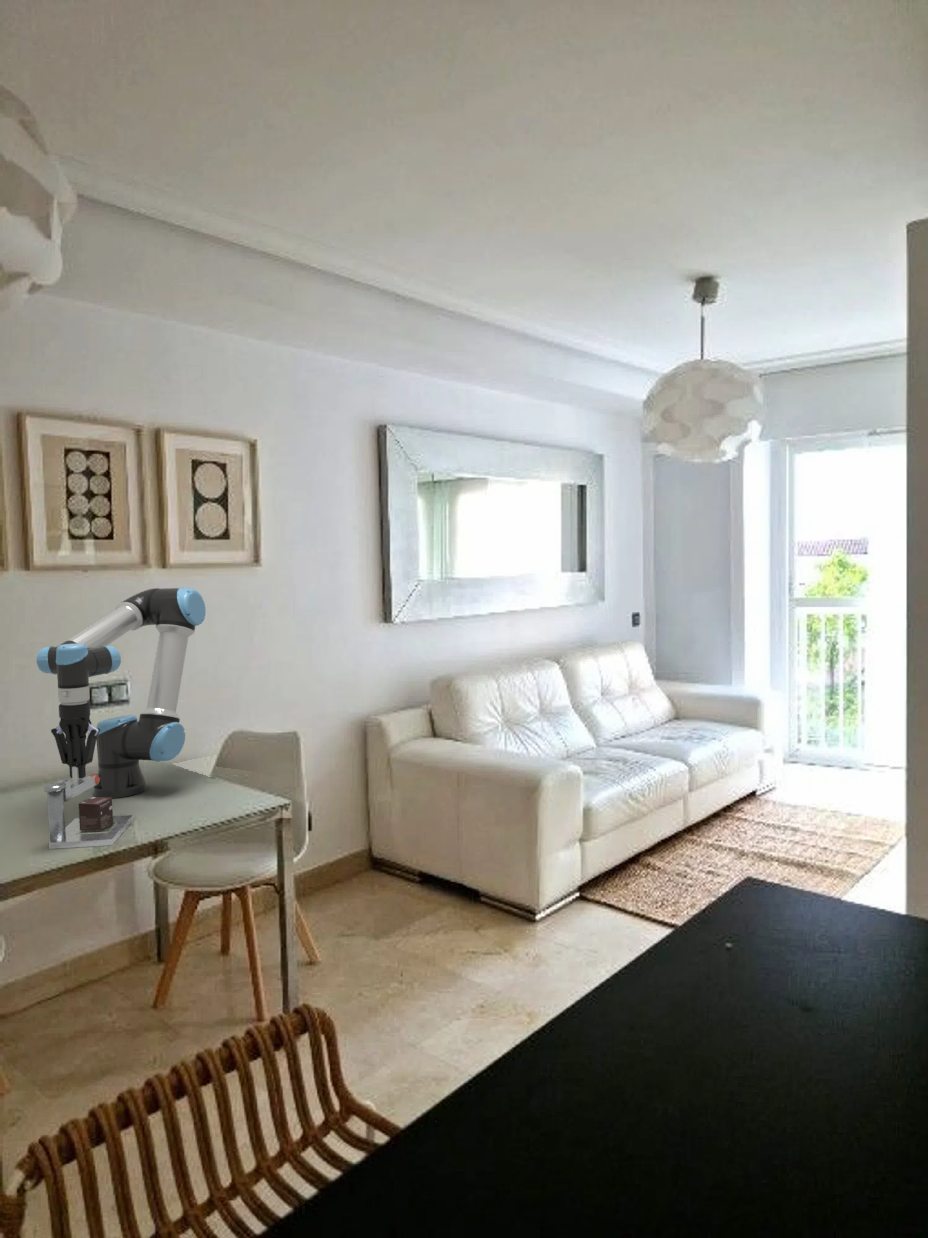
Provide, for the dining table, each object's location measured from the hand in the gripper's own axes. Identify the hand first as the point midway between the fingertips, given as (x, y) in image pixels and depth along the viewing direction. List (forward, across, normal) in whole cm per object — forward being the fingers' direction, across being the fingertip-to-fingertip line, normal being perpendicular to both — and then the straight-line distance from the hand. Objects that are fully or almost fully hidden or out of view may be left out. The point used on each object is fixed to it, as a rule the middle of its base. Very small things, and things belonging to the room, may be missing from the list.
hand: (78, 789), depth 225 cm
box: (+9, +8, -5) cm, 13 cm away
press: (+10, +7, -5) cm, 13 cm away
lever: (0, +2, -5) cm, 6 cm away
